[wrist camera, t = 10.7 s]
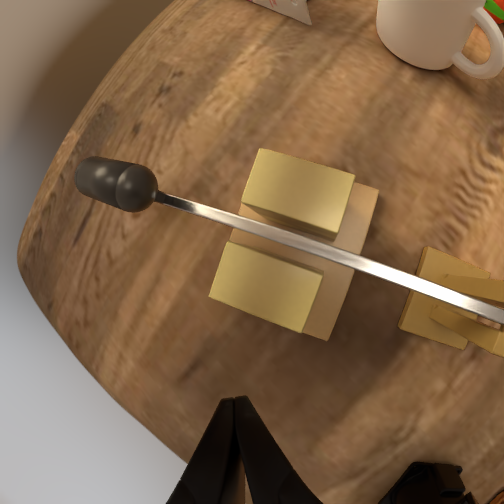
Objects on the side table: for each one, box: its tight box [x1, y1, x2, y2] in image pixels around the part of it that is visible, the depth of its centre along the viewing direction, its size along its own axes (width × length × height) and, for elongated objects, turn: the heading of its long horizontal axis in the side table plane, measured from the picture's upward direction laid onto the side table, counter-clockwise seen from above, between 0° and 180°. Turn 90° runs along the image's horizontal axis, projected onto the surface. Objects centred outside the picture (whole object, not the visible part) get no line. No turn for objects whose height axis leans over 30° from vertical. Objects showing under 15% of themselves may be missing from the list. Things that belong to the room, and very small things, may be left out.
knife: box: [74, 156, 504, 325], centre depth 12 cm, size 24×2×5 cm, turn 70°
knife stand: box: [397, 246, 504, 358], centre depth 13 cm, size 6×6×10 cm
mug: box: [376, 0, 504, 80], centre depth 13 cm, size 12×8×10 cm
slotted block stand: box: [209, 148, 379, 341], centre depth 17 cm, size 9×11×7 cm
